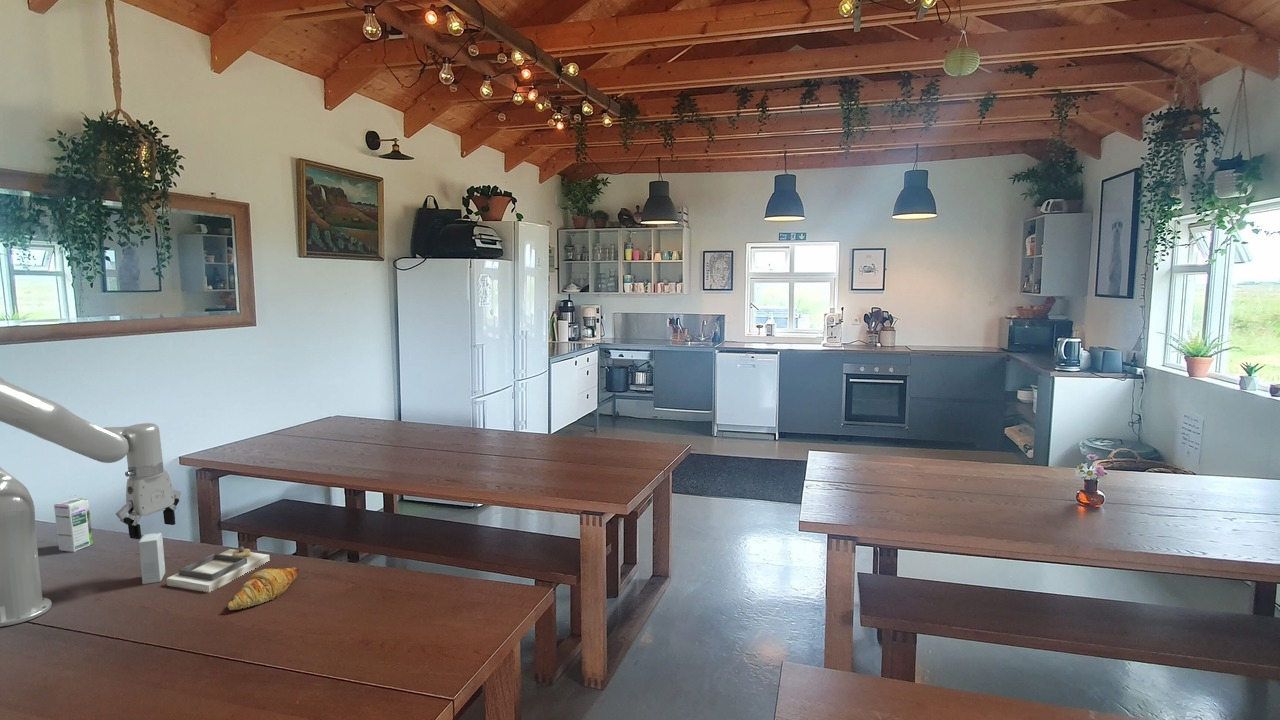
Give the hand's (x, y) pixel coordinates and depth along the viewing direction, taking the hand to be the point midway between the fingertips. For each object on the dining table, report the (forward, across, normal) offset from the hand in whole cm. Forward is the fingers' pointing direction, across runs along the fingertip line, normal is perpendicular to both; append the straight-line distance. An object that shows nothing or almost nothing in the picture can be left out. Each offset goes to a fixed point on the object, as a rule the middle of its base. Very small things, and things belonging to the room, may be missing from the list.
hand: (153, 531), depth 180 cm
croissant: (+14, 0, -35) cm, 37 cm away
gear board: (+14, +7, -14) cm, 20 cm away
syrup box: (+13, +8, +42) cm, 44 cm away
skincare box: (+14, -1, 0) cm, 14 cm away
